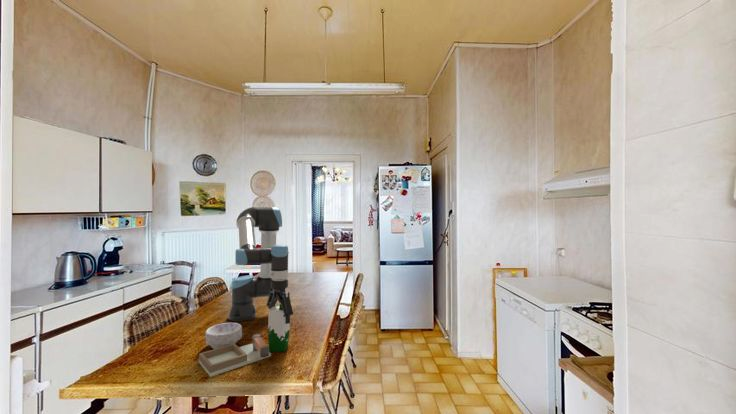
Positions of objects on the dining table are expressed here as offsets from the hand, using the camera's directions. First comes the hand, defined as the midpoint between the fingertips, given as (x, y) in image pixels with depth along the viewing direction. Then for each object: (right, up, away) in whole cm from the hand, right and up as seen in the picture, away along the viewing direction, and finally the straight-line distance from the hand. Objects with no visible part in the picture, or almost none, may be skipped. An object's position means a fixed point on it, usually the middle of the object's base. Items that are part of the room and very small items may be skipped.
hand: (279, 326), depth 138 cm
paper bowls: (-26, -10, +3) cm, 28 cm away
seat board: (-15, -10, -10) cm, 21 cm away
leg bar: (-5, -6, -10) cm, 12 cm away
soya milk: (0, -10, 0) cm, 10 cm away
